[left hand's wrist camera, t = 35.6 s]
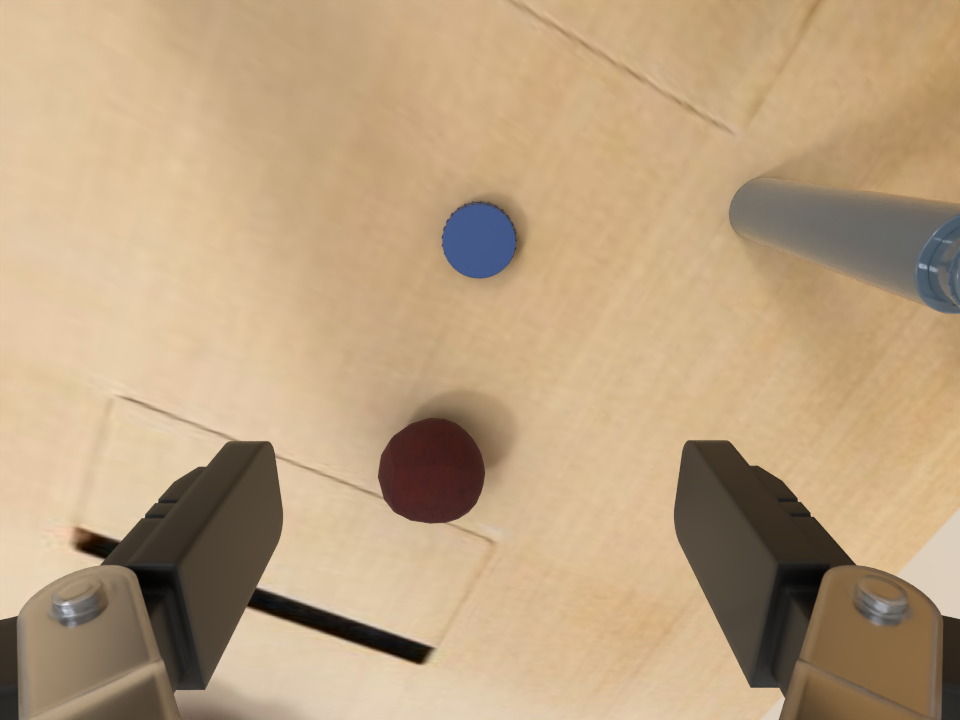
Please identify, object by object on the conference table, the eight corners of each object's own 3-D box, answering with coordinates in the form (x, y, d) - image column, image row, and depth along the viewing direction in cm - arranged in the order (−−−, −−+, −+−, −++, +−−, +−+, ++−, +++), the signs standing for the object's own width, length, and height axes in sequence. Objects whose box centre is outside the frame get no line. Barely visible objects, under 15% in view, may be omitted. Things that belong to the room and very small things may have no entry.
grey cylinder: (735, 175, 38) (966, 209, 20) (797, 178, 38) (1083, 215, 20) (723, 238, 40) (928, 323, 22) (782, 241, 40) (1037, 328, 22)
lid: (452, 192, 39) (451, 194, 37) (524, 211, 39) (526, 214, 38) (435, 263, 40) (433, 269, 39) (504, 281, 41) (505, 287, 39)
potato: (485, 486, 47) (486, 543, 40) (388, 488, 47) (373, 545, 40) (483, 402, 44) (484, 449, 37) (381, 404, 44) (363, 451, 37)
